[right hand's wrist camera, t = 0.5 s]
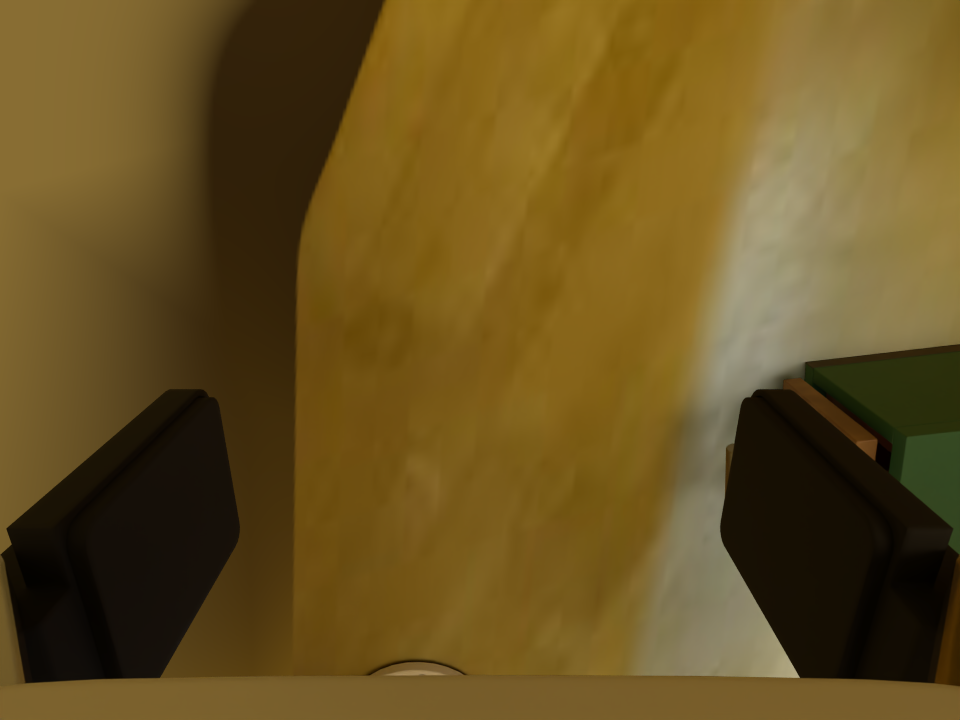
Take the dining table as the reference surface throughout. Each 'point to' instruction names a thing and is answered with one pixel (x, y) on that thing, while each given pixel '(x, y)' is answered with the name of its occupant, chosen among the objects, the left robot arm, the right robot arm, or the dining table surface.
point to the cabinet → (907, 416)
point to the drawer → (836, 425)
